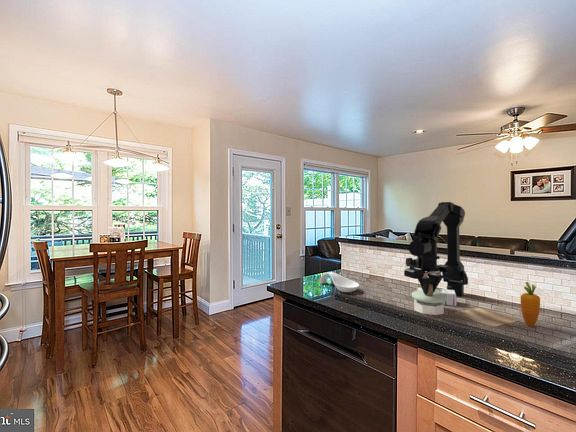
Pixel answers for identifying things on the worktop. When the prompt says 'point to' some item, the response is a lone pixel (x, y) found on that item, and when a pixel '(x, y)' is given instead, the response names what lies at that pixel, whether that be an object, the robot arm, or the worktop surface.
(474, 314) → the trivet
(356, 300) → the worktop surface
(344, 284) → the spoon rest
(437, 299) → the lid
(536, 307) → the carrot
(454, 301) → the syrup box
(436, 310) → the bowl
